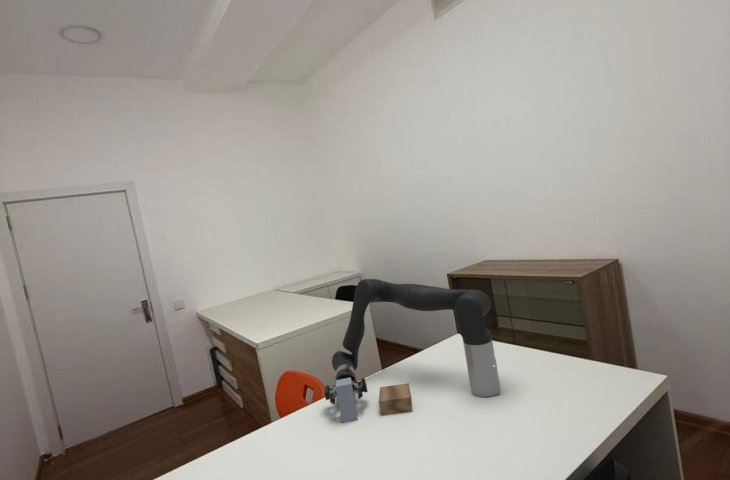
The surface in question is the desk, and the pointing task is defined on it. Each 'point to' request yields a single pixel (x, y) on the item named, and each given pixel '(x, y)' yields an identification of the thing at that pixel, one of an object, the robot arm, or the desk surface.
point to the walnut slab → (395, 399)
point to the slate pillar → (346, 400)
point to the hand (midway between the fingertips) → (346, 398)
